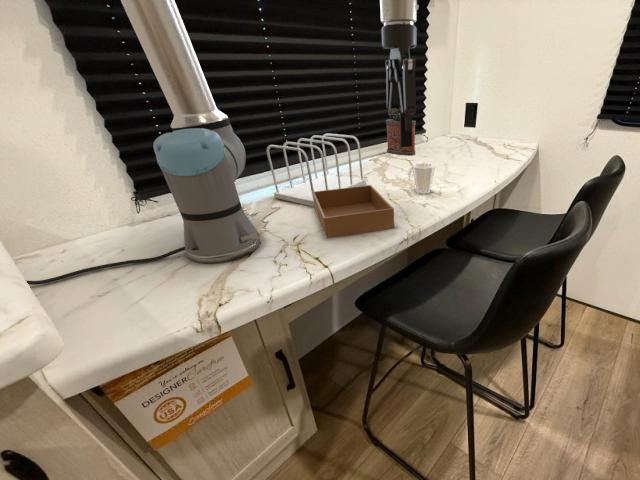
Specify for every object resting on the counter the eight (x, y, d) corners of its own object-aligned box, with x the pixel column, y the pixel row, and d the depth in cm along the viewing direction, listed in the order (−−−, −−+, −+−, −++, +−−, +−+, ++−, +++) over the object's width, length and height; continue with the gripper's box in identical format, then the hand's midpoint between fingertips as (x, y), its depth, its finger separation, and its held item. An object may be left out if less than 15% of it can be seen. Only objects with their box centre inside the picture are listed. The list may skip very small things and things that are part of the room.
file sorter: (328, 178, 119) (322, 131, 110) (366, 185, 111) (363, 135, 102) (274, 198, 102) (261, 143, 93) (315, 208, 94) (305, 149, 85)
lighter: (418, 153, 83) (418, 108, 77) (411, 156, 80) (411, 109, 74) (391, 150, 86) (390, 107, 80) (384, 153, 84) (382, 108, 78)
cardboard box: (326, 238, 77) (323, 218, 74) (315, 209, 93) (312, 191, 90) (394, 227, 82) (393, 208, 79) (372, 201, 98) (370, 184, 95)
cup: (423, 196, 101) (424, 169, 96) (401, 189, 107) (401, 163, 102) (438, 191, 105) (440, 165, 100) (417, 185, 111) (417, 160, 106)
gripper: (434, 19, 62) (430, 149, 75) (400, 29, 77) (401, 136, 90) (397, 18, 60) (400, 152, 73) (369, 29, 75) (375, 138, 89)
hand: (400, 143), depth 82 cm, fingers closed on lighter, 7 cm apart
